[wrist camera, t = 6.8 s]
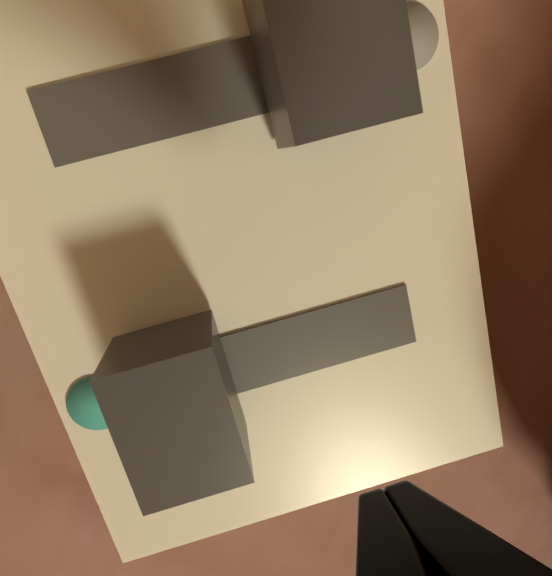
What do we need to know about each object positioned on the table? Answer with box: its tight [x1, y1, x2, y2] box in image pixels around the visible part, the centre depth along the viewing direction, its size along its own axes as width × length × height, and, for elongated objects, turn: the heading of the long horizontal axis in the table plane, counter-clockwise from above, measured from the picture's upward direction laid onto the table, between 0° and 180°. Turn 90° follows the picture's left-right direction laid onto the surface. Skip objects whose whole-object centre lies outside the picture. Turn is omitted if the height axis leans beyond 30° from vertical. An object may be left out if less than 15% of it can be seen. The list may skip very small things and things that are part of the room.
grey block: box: [89, 310, 254, 516], centre depth 14 cm, size 3×4×3 cm
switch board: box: [0, 0, 503, 563], centre depth 14 cm, size 14×28×2 cm, turn 14°
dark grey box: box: [242, 0, 423, 149], centre depth 12 cm, size 3×4×3 cm
